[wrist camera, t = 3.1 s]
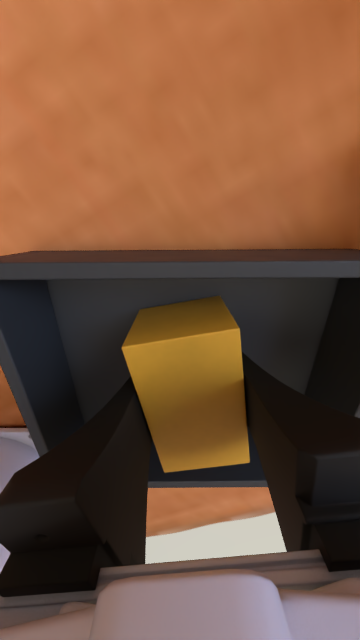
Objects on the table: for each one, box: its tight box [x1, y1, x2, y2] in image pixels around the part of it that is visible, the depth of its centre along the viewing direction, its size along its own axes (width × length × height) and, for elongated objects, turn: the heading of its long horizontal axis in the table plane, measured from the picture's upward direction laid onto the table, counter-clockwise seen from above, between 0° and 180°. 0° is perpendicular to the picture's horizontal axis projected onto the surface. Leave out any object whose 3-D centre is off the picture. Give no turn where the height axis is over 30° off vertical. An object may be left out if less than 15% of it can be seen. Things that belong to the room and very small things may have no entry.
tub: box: [0, 249, 360, 488], centre depth 11 cm, size 16×13×4 cm
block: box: [122, 296, 250, 473], centre depth 11 cm, size 4×8×4 cm, turn 10°
